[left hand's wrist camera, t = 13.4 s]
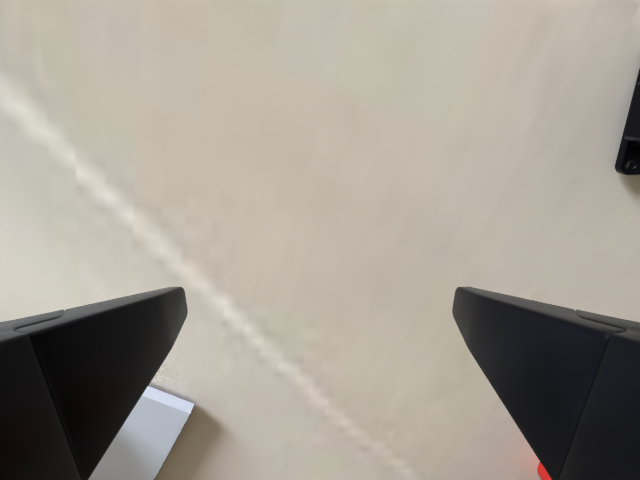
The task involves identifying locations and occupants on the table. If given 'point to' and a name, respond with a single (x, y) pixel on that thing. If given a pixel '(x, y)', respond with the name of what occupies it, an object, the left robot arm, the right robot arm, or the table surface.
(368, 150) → the table surface
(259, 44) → the table surface
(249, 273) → the table surface
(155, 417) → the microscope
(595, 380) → the left robot arm
